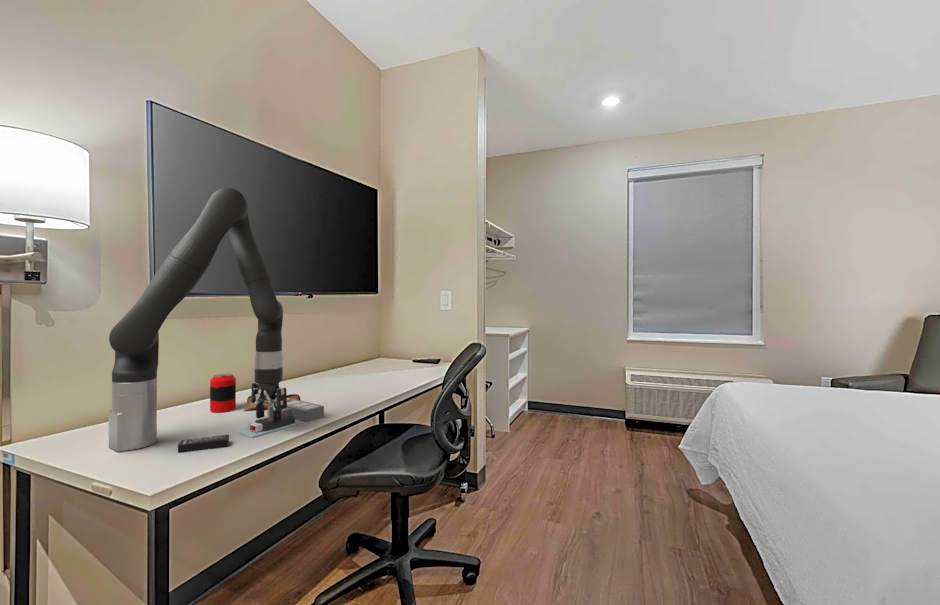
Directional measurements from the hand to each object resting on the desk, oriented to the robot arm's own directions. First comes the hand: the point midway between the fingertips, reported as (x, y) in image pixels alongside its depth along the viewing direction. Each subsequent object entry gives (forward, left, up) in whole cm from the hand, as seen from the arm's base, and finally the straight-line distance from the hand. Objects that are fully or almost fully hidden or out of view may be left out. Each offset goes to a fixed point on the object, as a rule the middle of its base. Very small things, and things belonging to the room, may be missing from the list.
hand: (268, 420), depth 123 cm
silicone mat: (0, 0, -3) cm, 3 cm away
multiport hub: (-18, 0, -3) cm, 18 cm away
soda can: (+3, +32, -3) cm, 32 cm away
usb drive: (+1, 0, -2) cm, 3 cm away
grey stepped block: (+13, +6, -3) cm, 14 cm away
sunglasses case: (+15, +22, -3) cm, 26 cm away
